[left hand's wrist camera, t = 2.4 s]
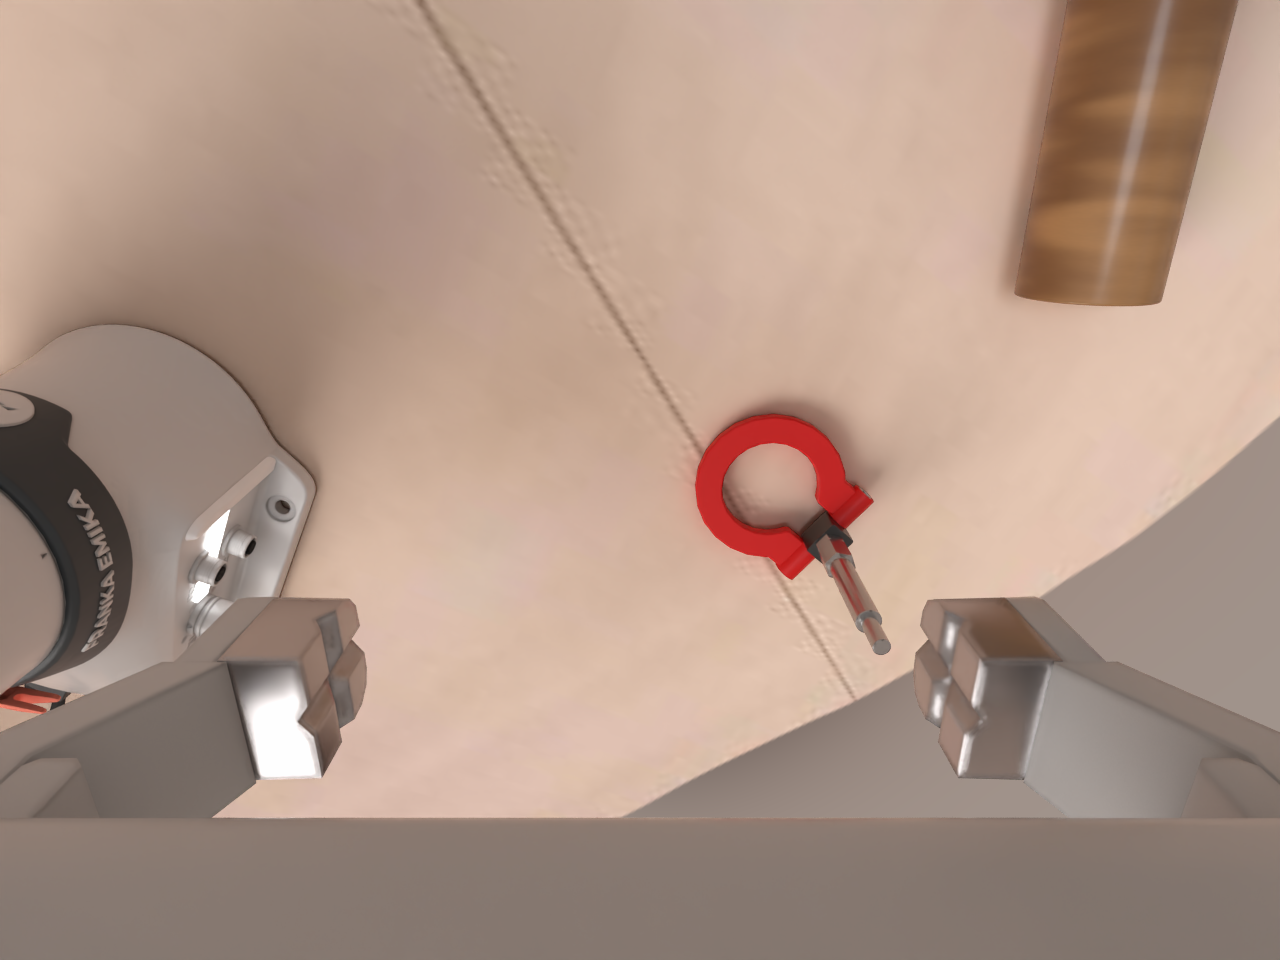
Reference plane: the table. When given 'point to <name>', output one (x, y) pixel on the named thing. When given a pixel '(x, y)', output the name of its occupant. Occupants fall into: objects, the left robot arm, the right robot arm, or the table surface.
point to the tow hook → (783, 543)
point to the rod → (1120, 148)
